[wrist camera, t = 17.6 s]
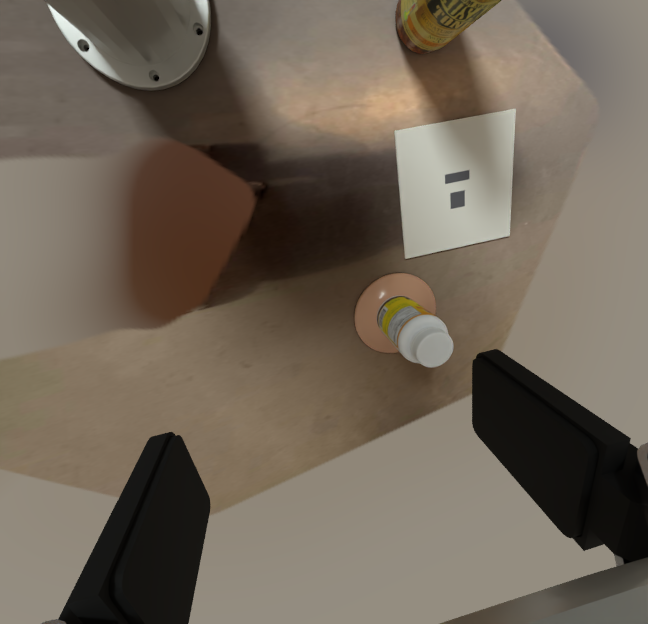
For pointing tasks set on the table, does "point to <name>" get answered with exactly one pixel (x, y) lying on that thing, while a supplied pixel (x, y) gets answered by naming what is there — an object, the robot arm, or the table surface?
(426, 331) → the supplement bottle
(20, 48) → the table surface
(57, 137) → the table surface
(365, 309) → the peach domed disc
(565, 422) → the robot arm
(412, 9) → the sauce bottle
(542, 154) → the table surface
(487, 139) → the white flat square slab
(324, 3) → the table surface
